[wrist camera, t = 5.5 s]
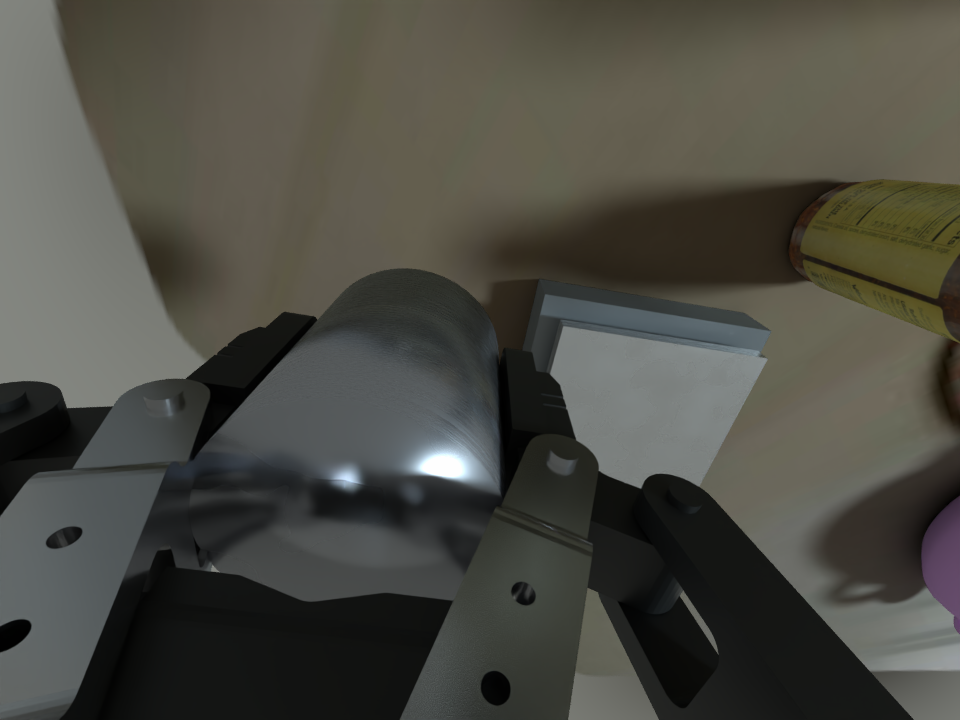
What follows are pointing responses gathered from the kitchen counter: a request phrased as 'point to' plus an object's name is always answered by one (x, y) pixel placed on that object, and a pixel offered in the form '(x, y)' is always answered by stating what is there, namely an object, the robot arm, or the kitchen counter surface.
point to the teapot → (944, 559)
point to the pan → (650, 398)
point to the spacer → (363, 449)
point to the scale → (633, 318)
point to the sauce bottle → (887, 249)
